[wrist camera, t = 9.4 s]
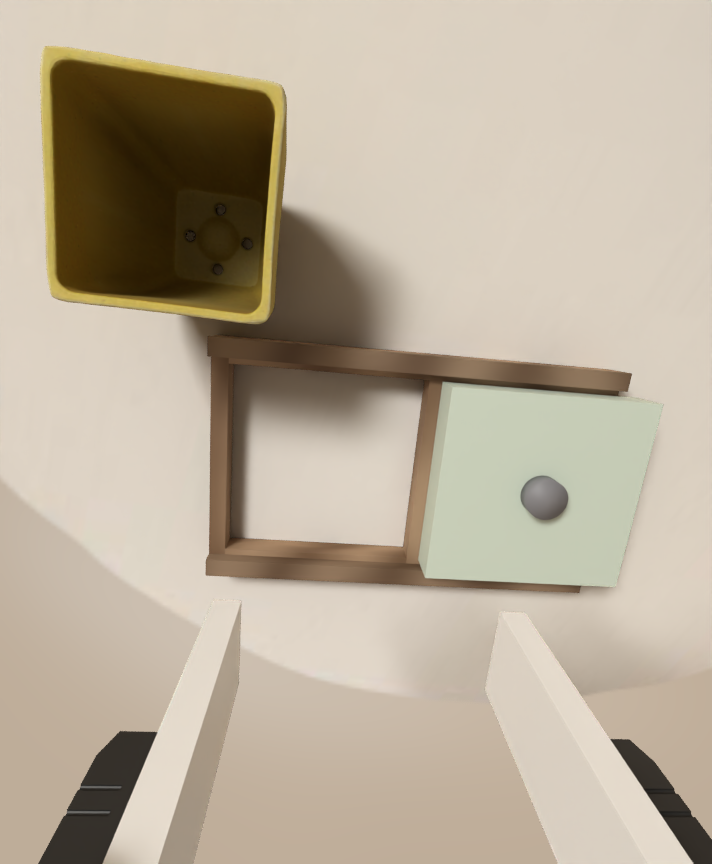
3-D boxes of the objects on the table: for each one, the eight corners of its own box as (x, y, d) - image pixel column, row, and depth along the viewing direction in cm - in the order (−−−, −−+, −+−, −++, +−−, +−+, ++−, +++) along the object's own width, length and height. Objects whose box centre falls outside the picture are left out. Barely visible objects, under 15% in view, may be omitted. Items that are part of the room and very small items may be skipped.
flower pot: (142, 140, 24) (34, 37, 15) (302, 165, 25) (287, 80, 16) (141, 306, 26) (45, 299, 17) (288, 325, 27) (268, 327, 18)
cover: (637, 397, 27) (676, 407, 24) (595, 568, 30) (625, 596, 27) (442, 381, 26) (457, 389, 23) (418, 559, 29) (428, 587, 26)
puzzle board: (608, 369, 29) (631, 373, 26) (561, 573, 32) (579, 592, 30) (218, 334, 27) (207, 336, 24) (214, 556, 30) (205, 575, 28)
